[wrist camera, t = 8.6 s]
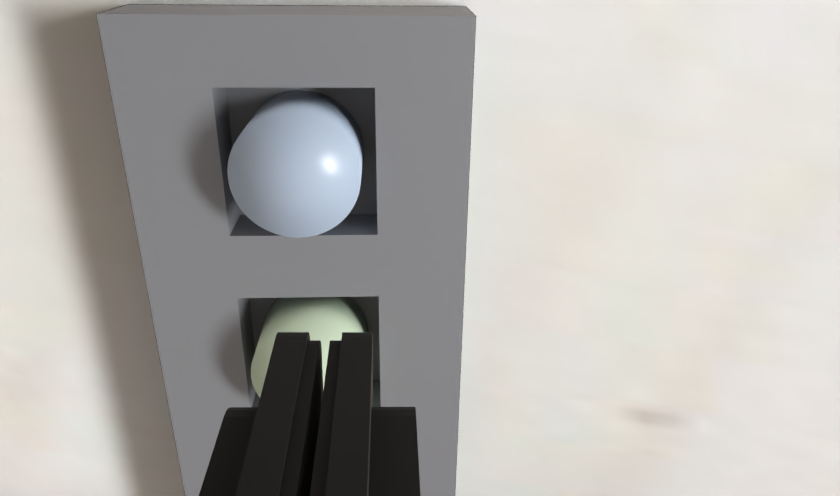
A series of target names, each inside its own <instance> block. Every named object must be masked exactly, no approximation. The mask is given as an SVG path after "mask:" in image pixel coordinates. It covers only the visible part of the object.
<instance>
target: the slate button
mask: <svg viewBox="0 0 840 496" xmlns="http://www.w3.org/2000/svg"><path fill="white" fill-rule="evenodd" d="M363 153H364V147H363V139H362V135H361V132H360V129H359V127H358V125H357V123H356V121H355V120H354V118H353V117H352V115H351V114H350V113H349V112H348V111H347V110H346V108H344V107H343V106H342V105H341V104H340V103H338V102H337V101H335V100H334V99H332V98H330V97H328V96H326V95H324V94H321V93H318V92H313V91H305V90H297V91H290V92H285V93H282V94H279V95H277V96H275V97H273V98H271V99H270V100H268V101H267V102H265V103H264V104H263V105H262V106H261V107H260V108H259V109H258V110H257V112H256V113H255V114H254V115H253V117H252V118H251V120H250V121H249V123H248V124H247V125H246V127H245V128H244V130H243V131H242V133H241V134H240V135H239V137H238V138H237V140H236V142H235V143H234V145H233V147H232V150H231V152H230V155H229V160H228V167H227V174H228V182H229V187H230V190H231V193H232V195H233V197H234V199H235V202H236V203H237V205H238V206H239V208H240V209H241V210H242V211H243V213H244V214H245V215H246V216H247V217H248V218H249V219H250V220H251V221H253V222H254V223H255V224H257V225H258V226H260V227H261V228H263V229H265V230H267V231H269V232H272V233H274V234H278V235H281V236H286V237H296V238H301V237H310V236H315V235H319V234H322V233H324V232H326V231H329V230H331V229H332V228H334V227H335V226H337V225H338V224H339V223H341V222H342V221H343V220H344V219H345V218H346V217H347V216H348V214H349V213H350V212H351V210H352V209H353V207H354V205H355V203H356V201H357V198H358V195H359V191H360V185H361V175H362V165H363Z"/></svg>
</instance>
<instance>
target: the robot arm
mask: <svg viewBox="0 0 840 496" xmlns="http://www.w3.org/2000/svg"><path fill="white" fill-rule="evenodd" d="M199 496H421V495H420V477H419V459H418V441H417V423H416V409H415V407H373V332H343V333H342V339H341V340H330V344H329V351H328V359H327V367H326V374H325V382H324V390H323V370H322V347H321V341H320V340H310V335H309V332H278V333H277V334H276V338H275V341H274V345H273V349H272V353H271V357H270V361H269V365H268V369H267V373H266V377H265V381H264V385H263V389H262V392H261V396H260V400H259V404H258V407H229V408H228V409H227V410H226V412H225V415H224V417H223V421H222V424H221V427H220V430H219V433H218V436H217V440H216V443H215V446H214V449H213V452H212V455H211V459H210V462H209V465H208V468H207V471H206V474H205V478H204V481H203V484H202V487H201V490H200V493H199Z"/></svg>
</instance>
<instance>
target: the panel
mask: <svg viewBox="0 0 840 496" xmlns="http://www.w3.org/2000/svg"><path fill="white" fill-rule="evenodd" d="M96 15H97V20H98V25H99V31H100V36H101V42H102V47H103V53H104V58H105V63H106V69H107V74H108V80H109V85H110V90H111V96H112V101H113V107H114V112H115V118H116V123H117V128H118V134H119V139H120V145H121V150H122V156H123V161H124V166H125V172H126V177H127V183H128V188H129V194H130V199H131V204H132V210H133V215H134V221H135V226H136V231H137V237H138V242H139V248H140V253H141V259H142V264H143V269H144V275H145V280H146V286H147V291H148V297H149V302H150V307H151V313H152V318H153V324H154V329H155V334H156V340H157V345H158V351H159V356H160V362H161V367H162V372H163V378H164V383H165V389H166V394H167V400H168V405H169V410H170V416H171V421H172V427H173V432H174V438H175V443H176V448H177V454H178V459H179V465H180V470H181V475H182V481H183V486H184V492H185V496H199V493H200V490H201V487H202V484H203V481H204V478H205V474H206V471H207V468H208V465H209V462H210V459H211V455H212V452H213V449H214V446H215V443H216V440H217V436H218V433H219V430H220V427H221V424H222V421H223V417H224V415H225V412H226V410H227V409H228V408H229V407H258V404H259V400H260V397H259V396H258V395H257V393H256V391H255V389H254V386H253V384H252V380H251V364H252V361H253V357H254V354H255V351H256V348H257V344H258V341H259V338H260V335H261V331H262V328H263V325H264V321H265V318H266V315H267V313H268V310H269V309H270V307H271V306H272V304H273V303H274V302H275V301H276V300H277V299H278V298H293V297H351V298H352V299H353V300H354V301H356V302H357V304H358V305H359V306H360V307H361V309H362V310H363V312H364V314H365V316H366V319H367V323H368V332H373V407H415V409H416V423H417V441H418V459H419V477H420V495H421V496H455V488H456V465H457V442H458V420H459V397H460V374H461V351H462V328H463V306H464V283H465V260H466V237H467V214H468V192H469V169H470V146H471V123H472V100H473V78H474V55H475V32H476V15H475V14H474V13H473V12H471V11H470V10H469V9H468V8H467V7H466V6H338V5H181V4H128V5H125V6H121V7H118V8H115V9H111V10H108V11H105V12H101V13H98V14H96ZM297 90H305V91H313V92H318V93H321V94H324V95H326V96H328V97H330V98H332V99H334V100H335V101H337V102H338V103H340V104H341V105H342V106H343V107H344V108H346V110H347V111H348V112H349V113H350V114H351V115H352V117H353V118H354V120H355V121H356V123H357V125H358V127H359V129H360V132H361V135H362V139H363V147H364V153H363V165H362V175H361V185H360V191H359V195H358V198H357V201H356V203H355V205H354V207H353V209H352V210H351V212H350V213H349V214H348V216H347V217H346V218H345V219H344V220H343V221H342V222H341V223H339V224H338V225H337V226H335V227H334V228H332V229H331V230H329V231H326V232H324V233H322V234H319V235H315V236H310V237H301V238H296V237H286V236H281V235H278V234H274V233H272V232H269V231H267V230H265V229H263V228H261V227H260V226H258V225H257V224H255V223H254V222H253V221H251V220H250V219H249V218H248V217H247V216H246V215H245V214H244V213H243V211H242V210H241V209H240V208H239V206H238V205H237V203H236V202H235V199H234V197H233V195H232V193H231V190H230V187H229V182H228V174H227V167H228V160H229V155H230V152H231V150H232V147H233V145H234V143H235V142H236V140H237V138H238V137H239V135H240V134H241V133H242V131H243V130H244V128H245V127H246V125H247V124H248V123H249V121H250V120H251V118H252V117H253V115H254V114H255V113H256V112H257V110H258V109H259V108H260V107H261V106H262V105H263V104H264V103H265V102H267V101H268V100H270V99H271V98H273V97H275V96H277V95H279V94H282V93H285V92H290V91H297Z"/></svg>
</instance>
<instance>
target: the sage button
mask: <svg viewBox="0 0 840 496" xmlns="http://www.w3.org/2000/svg"><path fill="white" fill-rule="evenodd" d="M278 332H309V335H310V340H320V341H321V347H322V370H323V390H324V382H325V374H326V367H327V359H328V351H329V344H330V340H341V339H342V333H343V332H368V323H367V319H366V316H365V314H364V312H363V310H362V309H361V307H360V306H359V305H358V304H357V302H356V301H354V300H353V299H352V298H351V297H293V298H278V299H277V300H276V301H275V302H274V303H273V304H272V306H271V307H270V309H269V310H268V313H267V315H266V318H265V321H264V325H263V328H262V331H261V335H260V338H259V341H258V344H257V348H256V351H255V354H254V357H253V361H252V364H251V380H252V384H253V386H254V389H255V391H256V393H257V395H258V396H259V397H260V396H261V392H262V389H263V385H264V381H265V377H266V373H267V369H268V365H269V361H270V357H271V353H272V349H273V345H274V341H275V338H276V334H277V333H278Z"/></svg>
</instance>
